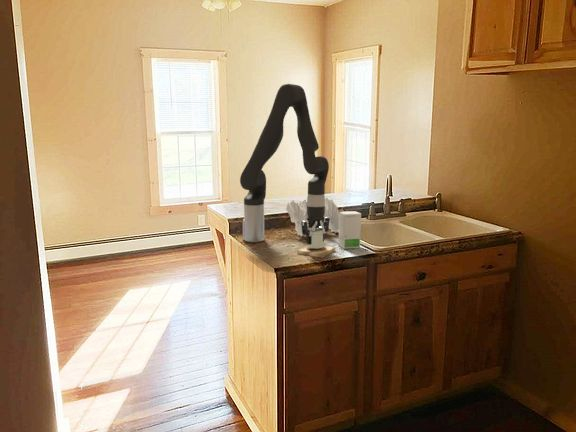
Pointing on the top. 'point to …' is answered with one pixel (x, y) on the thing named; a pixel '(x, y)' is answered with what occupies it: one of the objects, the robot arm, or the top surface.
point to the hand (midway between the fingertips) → (315, 242)
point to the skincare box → (349, 229)
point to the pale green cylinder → (317, 239)
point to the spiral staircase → (300, 214)
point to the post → (316, 251)
